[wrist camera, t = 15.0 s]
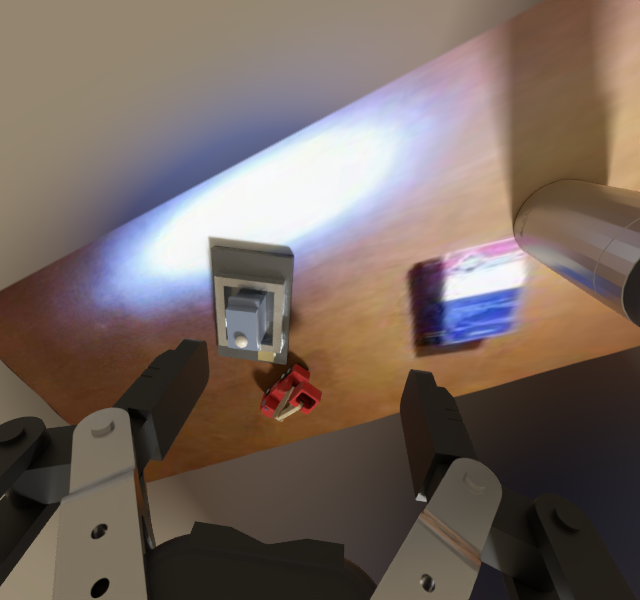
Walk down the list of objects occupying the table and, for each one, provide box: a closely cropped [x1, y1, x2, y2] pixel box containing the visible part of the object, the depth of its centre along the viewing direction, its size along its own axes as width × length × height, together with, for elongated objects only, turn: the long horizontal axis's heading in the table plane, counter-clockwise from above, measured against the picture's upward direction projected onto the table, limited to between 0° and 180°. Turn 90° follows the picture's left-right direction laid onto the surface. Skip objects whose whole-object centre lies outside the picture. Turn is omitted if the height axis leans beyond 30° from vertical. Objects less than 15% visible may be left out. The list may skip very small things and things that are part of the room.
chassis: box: [211, 246, 294, 365], centre depth 45 cm, size 11×18×3 cm, turn 175°
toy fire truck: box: [260, 364, 322, 422], centre depth 48 cm, size 3×14×10 cm, turn 141°
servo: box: [225, 293, 266, 351], centre depth 43 cm, size 4×8×6 cm, turn 176°
